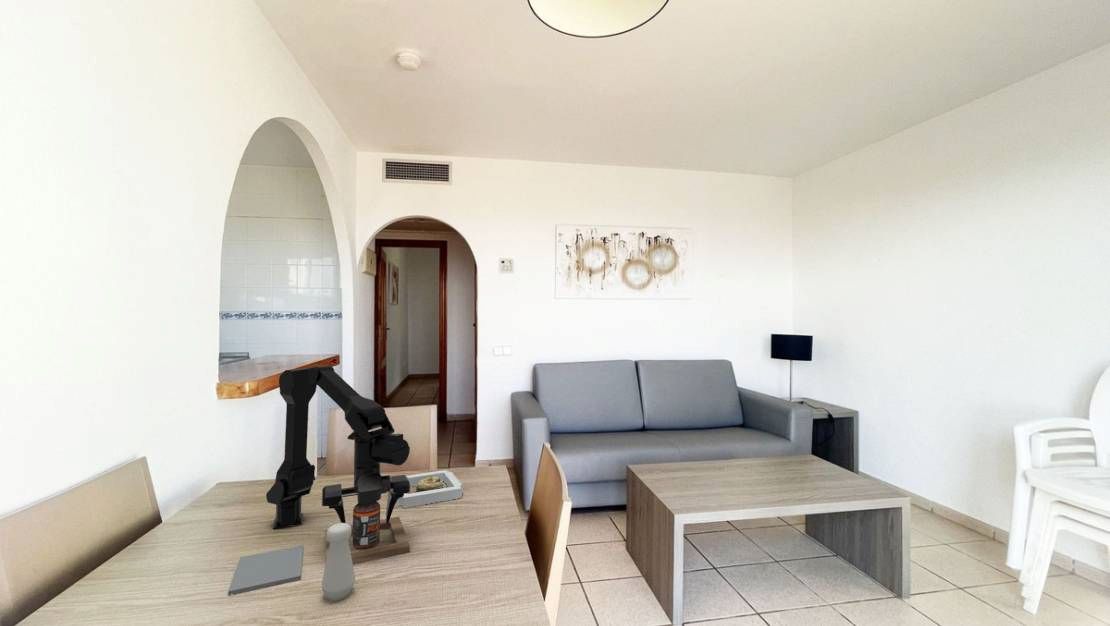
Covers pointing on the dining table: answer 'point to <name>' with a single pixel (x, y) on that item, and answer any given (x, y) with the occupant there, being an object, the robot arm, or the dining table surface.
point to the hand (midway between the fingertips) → (366, 526)
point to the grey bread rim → (432, 495)
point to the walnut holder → (382, 551)
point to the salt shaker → (338, 564)
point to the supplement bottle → (366, 524)
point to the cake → (429, 484)
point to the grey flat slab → (267, 569)
